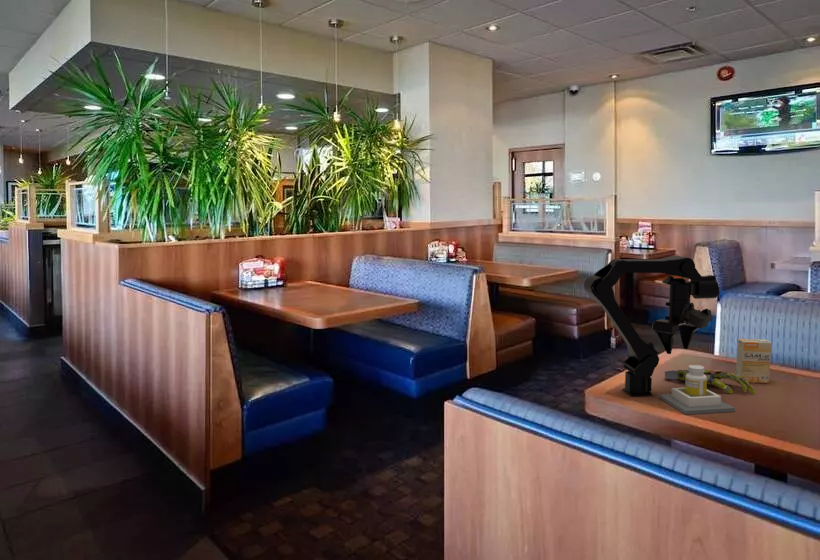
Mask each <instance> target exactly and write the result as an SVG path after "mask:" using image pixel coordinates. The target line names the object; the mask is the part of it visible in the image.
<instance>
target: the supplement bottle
mask: <svg viewBox="0 0 820 560" xmlns="http://www.w3.org/2000/svg"><path fill="white" fill-rule="evenodd" d="M687 370H688V371H689V373H687V374H686V377H685V380H684V382H685V383H684V385H685V386H684V387H685V394H687V395H689V396H690V397H699V396H706V392H707V389H708V388H707V387H708V384H707V377H706V375H704V374H703V373H704V370H705V367H704V366H703V365H699V364H690V365H688V369H687Z"/></svg>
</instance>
